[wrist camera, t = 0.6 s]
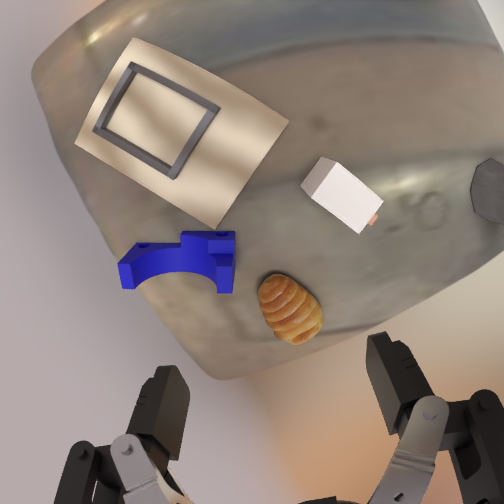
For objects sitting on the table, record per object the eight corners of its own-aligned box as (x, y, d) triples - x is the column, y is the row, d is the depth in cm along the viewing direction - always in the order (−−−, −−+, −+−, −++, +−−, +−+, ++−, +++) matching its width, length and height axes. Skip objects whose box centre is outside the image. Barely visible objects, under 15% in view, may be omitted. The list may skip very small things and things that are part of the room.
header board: (136, 39, 23) (128, 33, 20) (288, 121, 27) (291, 120, 25) (79, 142, 27) (67, 144, 25) (215, 227, 32) (213, 234, 29)
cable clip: (235, 230, 32) (231, 252, 27) (235, 266, 34) (232, 293, 28) (135, 230, 32) (115, 250, 26) (140, 264, 34) (122, 288, 28)
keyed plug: (321, 156, 29) (337, 161, 23) (368, 194, 30) (390, 208, 25) (299, 185, 30) (310, 197, 24) (347, 221, 31) (366, 240, 26)
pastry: (243, 288, 34) (241, 306, 31) (290, 259, 33) (294, 275, 29) (284, 336, 37) (286, 355, 34) (327, 312, 36) (333, 330, 32)
